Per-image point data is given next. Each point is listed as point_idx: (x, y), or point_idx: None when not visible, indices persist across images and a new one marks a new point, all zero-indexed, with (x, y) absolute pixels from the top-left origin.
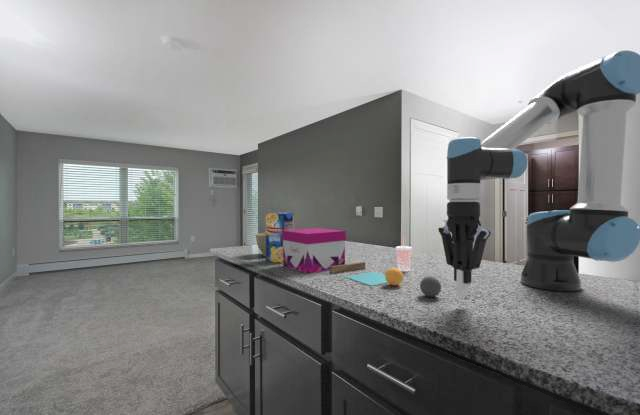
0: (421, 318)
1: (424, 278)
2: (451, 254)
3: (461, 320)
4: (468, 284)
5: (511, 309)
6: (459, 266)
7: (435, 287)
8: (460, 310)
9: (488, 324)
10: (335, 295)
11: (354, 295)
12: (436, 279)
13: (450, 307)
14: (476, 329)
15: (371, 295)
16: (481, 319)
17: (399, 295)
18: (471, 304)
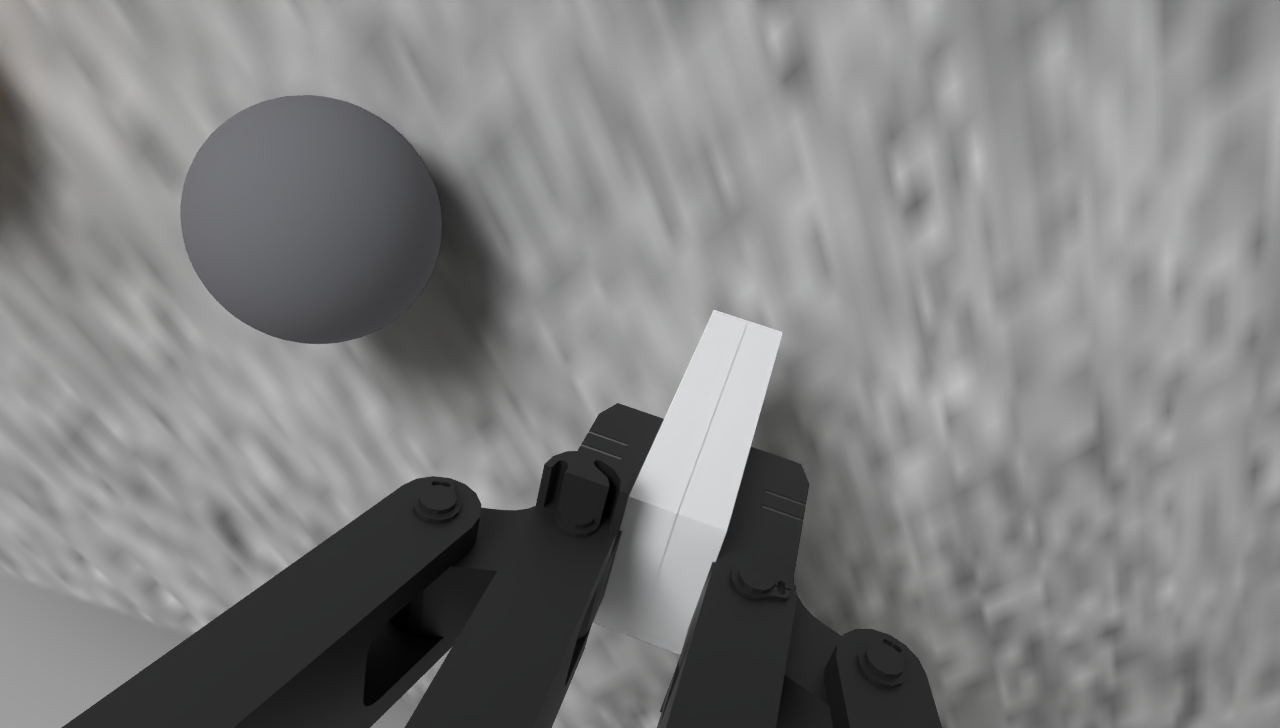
0: (620, 693)
1: (213, 294)
2: (361, 697)
3: (849, 619)
4: (763, 397)
5: (1274, 48)
6: (598, 607)
7: (403, 305)
8: (770, 419)
9: (1051, 606)
10: (9, 575)
11: (55, 516)
12: (319, 247)
13: (671, 391)
14: (983, 717)
15: (104, 456)
16: (982, 534)
17: (204, 331)
18: (802, 173)
